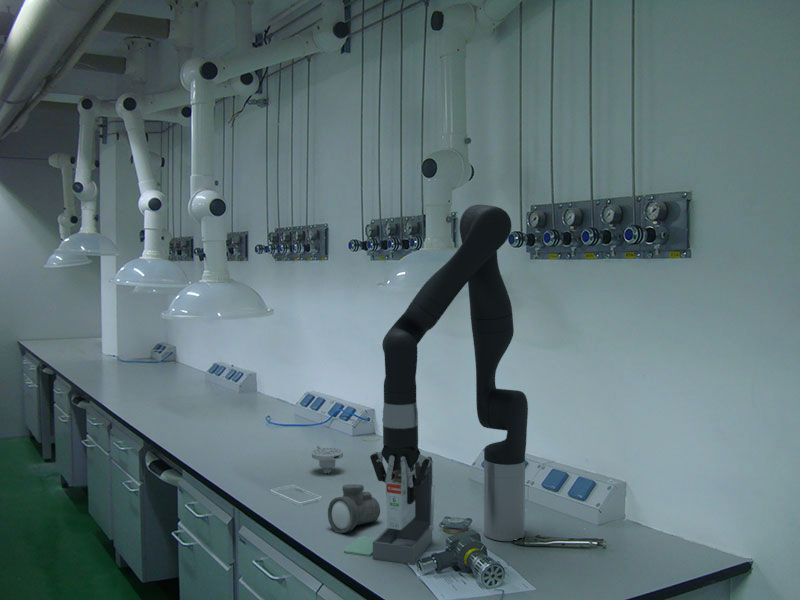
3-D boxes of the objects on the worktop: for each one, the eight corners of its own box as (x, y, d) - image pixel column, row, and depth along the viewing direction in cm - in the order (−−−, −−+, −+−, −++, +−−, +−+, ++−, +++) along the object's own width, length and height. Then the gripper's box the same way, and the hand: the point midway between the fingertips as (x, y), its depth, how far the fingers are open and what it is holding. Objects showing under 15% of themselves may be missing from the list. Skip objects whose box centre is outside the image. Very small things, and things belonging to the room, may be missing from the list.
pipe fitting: (349, 536, 153) (350, 489, 154) (325, 530, 158) (326, 485, 159) (386, 528, 162) (386, 484, 163) (362, 523, 167) (363, 480, 168)
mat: (359, 537, 153) (359, 535, 153) (384, 540, 151) (384, 539, 151) (343, 552, 145) (343, 550, 145) (370, 556, 143) (370, 554, 143)
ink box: (386, 528, 143) (385, 460, 143) (400, 516, 151) (400, 450, 150) (402, 531, 142) (401, 462, 141) (416, 518, 149) (415, 452, 148)
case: (393, 535, 154) (393, 457, 154) (435, 541, 151) (435, 460, 151) (372, 558, 142) (372, 473, 141) (417, 565, 138) (417, 477, 138)
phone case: (269, 494, 186) (299, 508, 175) (269, 489, 186) (299, 502, 175) (292, 488, 191) (323, 501, 180) (292, 484, 191) (322, 496, 180)
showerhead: (330, 443, 213) (349, 449, 205) (330, 466, 213) (349, 472, 205) (304, 448, 206) (323, 454, 199) (304, 471, 207) (323, 478, 199)
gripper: (437, 421, 146) (438, 500, 147) (376, 417, 151) (377, 493, 152) (426, 429, 139) (427, 511, 140) (363, 424, 144) (364, 504, 145)
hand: (401, 501), depth 146 cm, fingers closed on ink box, 3 cm apart
